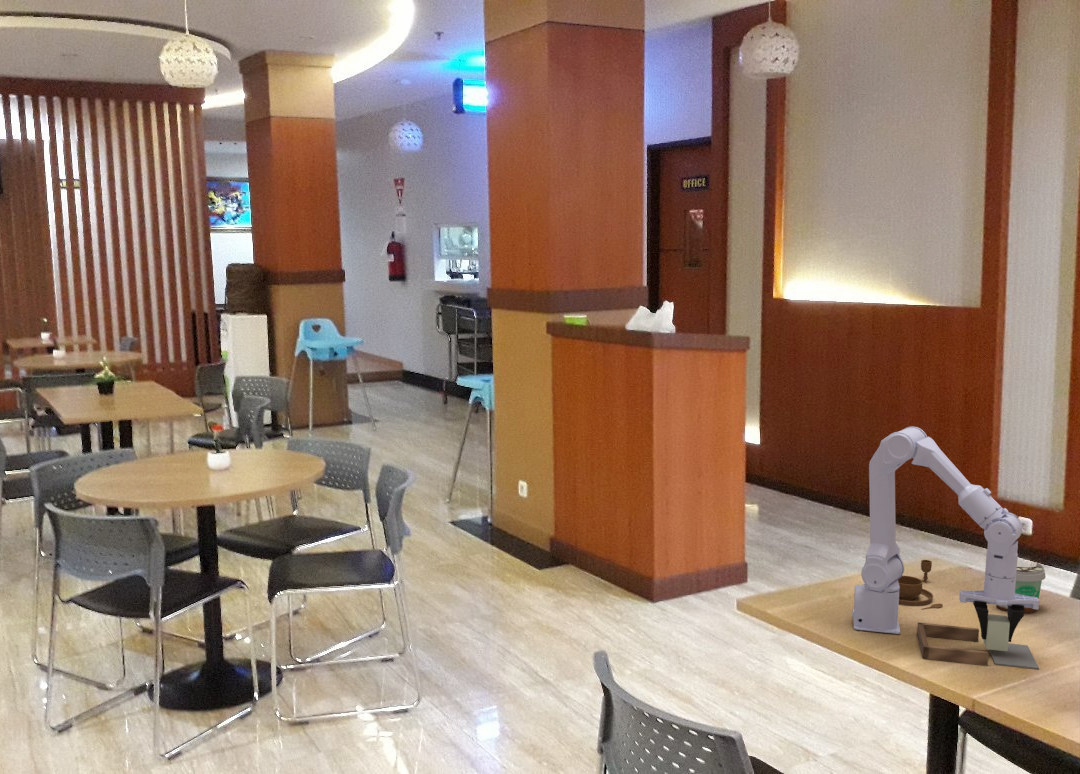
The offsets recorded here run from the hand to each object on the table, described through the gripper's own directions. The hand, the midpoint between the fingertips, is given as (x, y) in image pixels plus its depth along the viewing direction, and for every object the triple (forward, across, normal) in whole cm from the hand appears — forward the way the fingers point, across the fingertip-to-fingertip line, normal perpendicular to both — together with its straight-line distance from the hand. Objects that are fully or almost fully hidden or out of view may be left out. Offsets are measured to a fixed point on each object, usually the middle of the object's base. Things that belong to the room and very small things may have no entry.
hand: (995, 638), depth 208 cm
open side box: (+3, -8, 0) cm, 8 cm away
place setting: (+4, -12, +33) cm, 36 cm away
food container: (+3, +10, +29) cm, 31 cm away
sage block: (+2, 0, 0) cm, 2 cm away
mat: (+3, +3, 0) cm, 4 cm away
